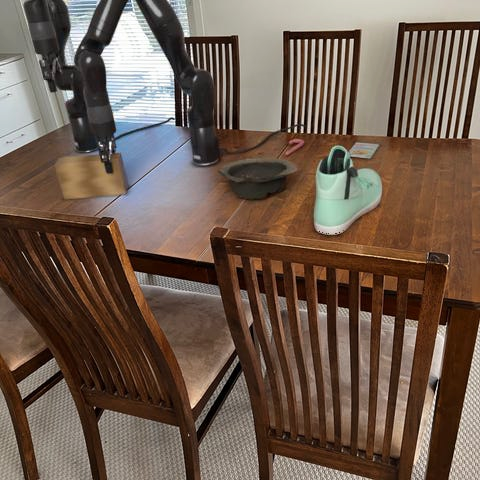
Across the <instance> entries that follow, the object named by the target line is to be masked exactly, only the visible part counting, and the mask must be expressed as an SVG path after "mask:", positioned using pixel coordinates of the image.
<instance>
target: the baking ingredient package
mask: <svg viewBox="0 0 480 480" xmlns="http://www.w3.org/2000/svg"><path fill="white" fill-rule="evenodd" d="M379 147H380V144H377V143H369V142H357V141H356V142H355V143H354V144H353V146H352V147H351V148H350V149H349V151H347V152H348V153H349V156H350V157H352V158H361V159H371V158H372V157H373V156H374V154H375V152H376V150H377V149H378V148H379Z"/></svg>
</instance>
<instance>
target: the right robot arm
mask: <svg viewBox="0 0 480 480" xmlns="http://www.w3.org/2000/svg"><path fill="white" fill-rule="evenodd" d="M134 1H135V3H136V5H137V7H138V9H139V10H140V12H141V15H142V16H143V18H144V20H145V23H147V26H148V28H149V30H150V31H151V33H152V35H153V37H154V38H155V41H156V42H157V44H158V45H159V47H160V49H161V51H162V53H163V54H164V56H165V58H166V60H167V61H168V63H169V66H170V68H171V70H172V72H173V75H174V78H175V80H176V82H177V84H178V87H179V88H180V90H181V91H182V92H183V94H186V95H187V96H190V97H191V106H189V107H188V108H187V109H186V116H187V124H188V131H189V132H188V133H189V139H190V148H191V155H192V164H193V165H194V166H196V167H211V166H214V165H216V164H217V163H218V162H220V161H221V155H223V154H224V152H225V153H226V154H228V155H234V154H241V153H246V152H248V151H252V150H254V149H256V148H258V147H260V146H261V145H263V144H264V143H266V142H267V141H268V139H270V138H271V137H273V136H274V135H276V134H278V133H281V132H285V131H287V130H290V129H294V128H295V127H303V128H307V126H306V124H303V123H297V124H294V125H291V126H289V127H285V128H282V129H278V130H276V131H274V132H272V133H270V134H268V135H267V136H266V138H264V139H263V140H262V141H261V142H259V143H257V144H256V145H254V146H252V147H249V148H245V149H242V150H238V151H228V149H227V148H225V147H222V146H220V142H219V141H220V140H219V135H217V133H216V125H215V124H216V123H215V115H214V110H215V108H216V107H215V106H216V96H215V84H214V83H215V82H214V79H213V78H214V77H213V76H212V74H211V73H210V72H209V71H208V70H206V69H203V68H197V67H196V66H195V64H194V63H193V61H192V60H191V58H190V55H189V54H188V52H187V49H186V43H185V32H184V28H183V25H182V23H181V21H180V19H179V17H178V15H177V13H176V11H175V9H174V8H173V6H172V5H171V4H170V2H169V1H168V0H134ZM128 2H129V0H99V2H98V4H97V5H96V8H94V9H95V10H94V12H93V14H92V16H91V19H90V21H89V24H88V27H87V30H86V33H85V35H84V36H83V38H82V40H80V43H79V45H78V46H77V48H76V50H75V54H74V57H73V65H75V67H76V68H77V70H78V71H80V72H81V73H82V74H83V78H84V84H85V86H84V88H83V93H84V98H85V102H86V106H87V114H88V119H89V123H90V127H91V132H92V135H93V136H97V137H99V138H100V141H99V144H98V145H97V147H98V150H97V151H98V154H99V155H100V159H101V163H104V165H105V170H106V173H113V167H112V162H111V155H112V153H117V147H118V145H117V142H116V140H115V138H116V136H115V134H116V133H117V126H116V122H115V117H114V112H113V108H112V105H111V101H110V97H109V92H108V88H107V84H108V83H107V70H106V69H107V68H106V64H105V60H104V58H103V57H102V54H103V52H104V50H105V48H107V47H109V46H110V44H111V43H112V40H113V38H114V36H115V33H116V30H117V28H118V25H119V23H120V21H121V18H122V15H123V14H124V13H123V12H124V10H125V8H126V6H127V4H128ZM105 155H106V157H107V158H106V159H105Z"/></svg>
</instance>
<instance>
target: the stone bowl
mask: <svg viewBox="0 0 480 480" xmlns="http://www.w3.org/2000/svg"><path fill="white" fill-rule="evenodd" d="M298 170H299V169H298V167H297V166H296V164H295V163H293V162H291V161H289V160H287V159H281V158H272V157H271V158H269V157H255V158H243V159H239V160H235V161H232V162H231V161H230V162H228V163H225V164H223V165H222V166H221V168H220V169H219V170H217V173H219V174H220V175H221V176H223V177H224V178H226V179H227V180H228V182H229V186H230V188H231V190H232V191H234V192H235V193H236V196H237V198H239V199H241V200H243V199H245V200H251V201H252V200H255V199H257V200H262V199H264V198H266V197H267V196H268V193H269V194H273V193H281V192H282V191H284V190H285V189H284V188H285V185H286V183H287V182H286V181H287V177H289V176H290V175H292V174H294V173H296V172H297V171H298Z"/></svg>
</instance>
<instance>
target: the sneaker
mask: <svg viewBox="0 0 480 480" xmlns="http://www.w3.org/2000/svg"><path fill="white" fill-rule="evenodd" d="M348 152H349V151H348V150H347V148H345V147H344V146H342V145H334V146H333V147H331V149H330V151H329V154H327V155H326V156H325V157H324V158H322V159H321V160H320V161H319V163H318V164H317V165H318V166H317V168H316V172H315V201H314V207H313V225H314V229H315V231H316V232H318V233H320V234H323V235H326V236H327V235H328V236H336V235H339V234H342V233H344V232H345V231H347V230H348V229H349V228H350V227H351V226H352V225H353V224H354V222H356V221H357V220H358V219H359V218H360V217H362V216H363V215H365V214H367V213H370V212H372V210H374V209H375V208H377V207H378V205H380V203H381V200H382V196H383V184H382V183H383V182H382V179H381V176H380V175H379V173H378V172H377V171H376V170H374V169H372V168H367V167H365V168H358V169H357V168H355V167H354V161H353V159H352V158H351V156H349V153H348ZM343 230H344V231H343ZM319 231H320V232H319ZM322 232H323V233H322ZM339 232H340V233H339ZM326 233H327V234H326ZM328 233H329V234H328ZM335 233H337V234H335Z"/></svg>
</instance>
